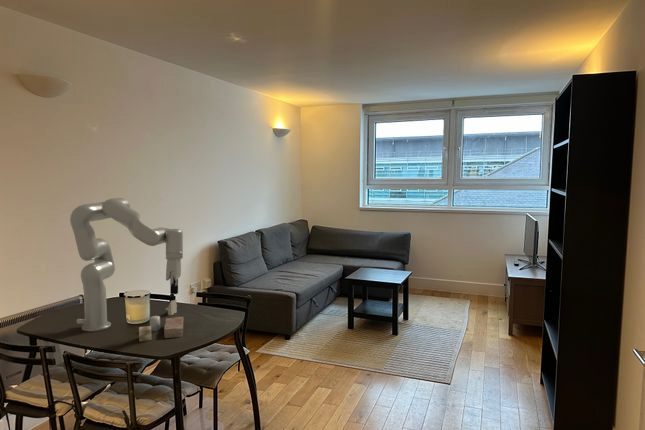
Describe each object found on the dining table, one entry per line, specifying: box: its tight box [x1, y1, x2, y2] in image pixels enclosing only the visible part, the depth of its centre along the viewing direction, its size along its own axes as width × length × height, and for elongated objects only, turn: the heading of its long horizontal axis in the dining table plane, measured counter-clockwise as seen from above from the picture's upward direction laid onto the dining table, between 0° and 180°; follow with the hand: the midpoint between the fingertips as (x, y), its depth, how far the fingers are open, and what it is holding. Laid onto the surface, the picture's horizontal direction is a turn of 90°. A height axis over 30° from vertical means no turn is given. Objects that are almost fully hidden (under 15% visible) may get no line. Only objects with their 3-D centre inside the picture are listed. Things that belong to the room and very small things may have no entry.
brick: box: [163, 316, 185, 339], centre depth 211 cm, size 17×8×5 cm, turn 16°
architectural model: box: [164, 299, 178, 316], centre depth 237 cm, size 3×7×7 cm, turn 169°
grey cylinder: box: [149, 315, 161, 332], centre depth 213 cm, size 5×5×6 cm
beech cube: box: [138, 325, 152, 342], centre depth 201 cm, size 5×5×5 cm
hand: (174, 293), depth 210 cm, fingers closed
